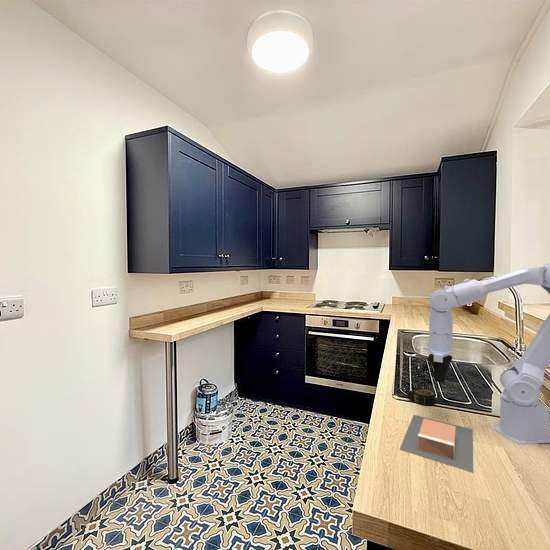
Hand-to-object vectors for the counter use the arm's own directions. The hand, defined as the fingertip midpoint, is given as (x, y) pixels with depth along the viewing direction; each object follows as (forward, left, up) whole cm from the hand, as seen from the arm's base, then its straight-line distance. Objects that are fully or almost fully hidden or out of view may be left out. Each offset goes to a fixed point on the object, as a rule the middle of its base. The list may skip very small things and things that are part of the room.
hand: (440, 381), depth 83 cm
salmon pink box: (+6, +8, -8) cm, 13 cm away
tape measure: (-1, -10, -11) cm, 15 cm away
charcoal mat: (+8, +10, -10) cm, 16 cm away
